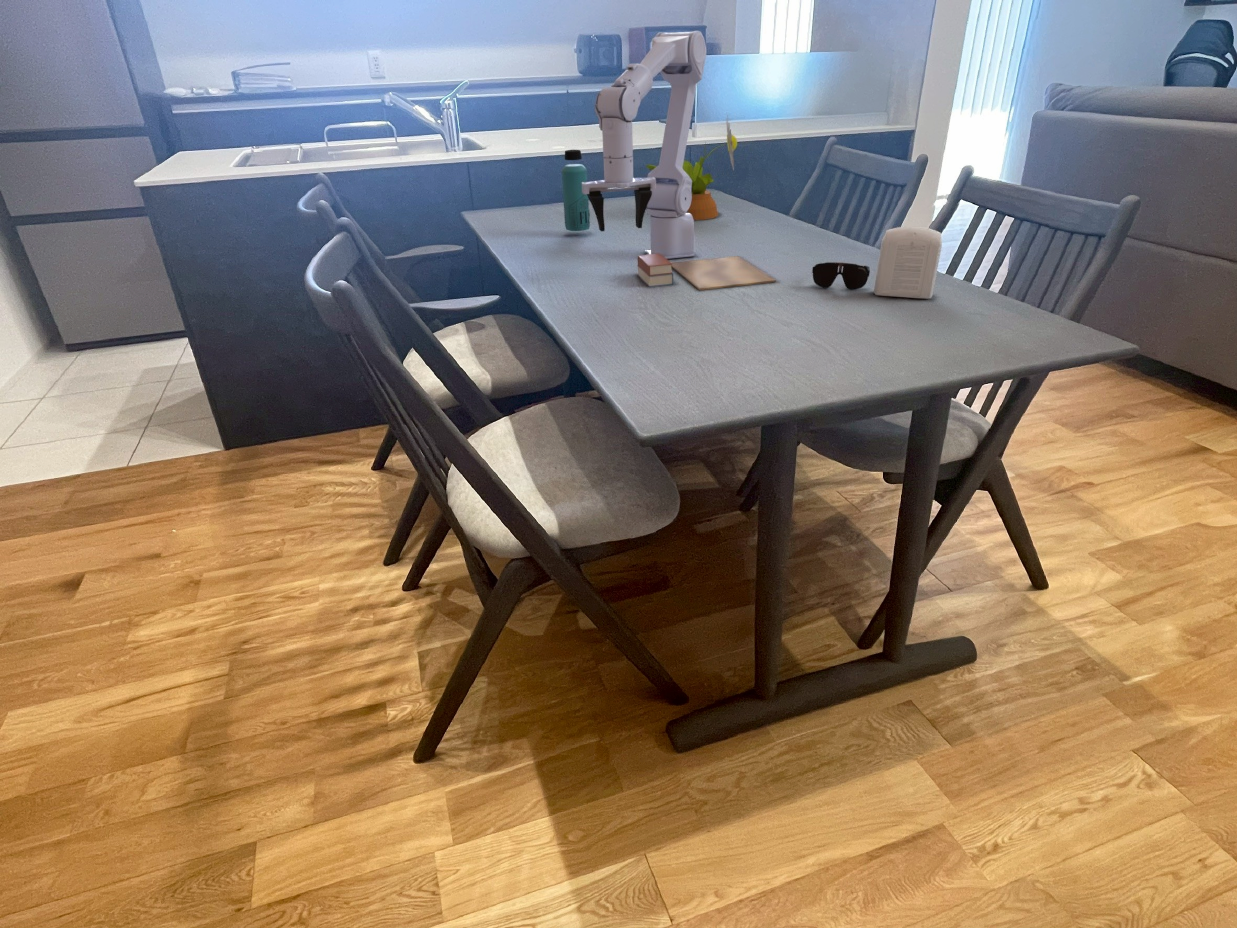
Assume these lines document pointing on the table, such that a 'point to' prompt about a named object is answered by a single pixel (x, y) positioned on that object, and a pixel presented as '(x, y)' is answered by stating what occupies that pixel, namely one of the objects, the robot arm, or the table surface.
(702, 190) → the decorative plant
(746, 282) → the cork mat
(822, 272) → the sunglasses
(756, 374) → the table surface
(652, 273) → the book stack
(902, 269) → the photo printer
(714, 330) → the table surface
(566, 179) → the beverage bottle
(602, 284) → the table surface
